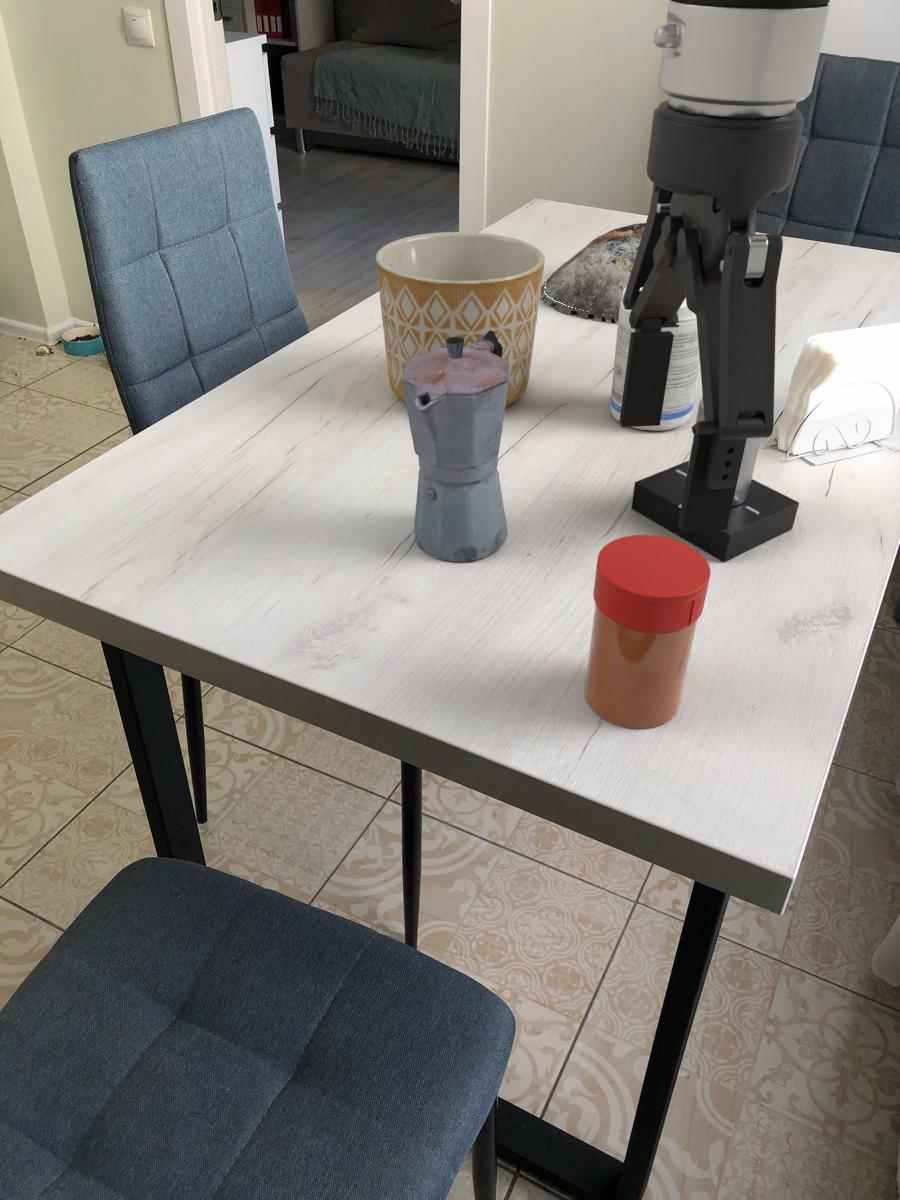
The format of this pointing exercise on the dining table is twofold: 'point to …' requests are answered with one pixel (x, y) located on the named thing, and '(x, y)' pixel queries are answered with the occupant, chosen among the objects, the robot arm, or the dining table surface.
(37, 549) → the dining table surface
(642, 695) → the jar
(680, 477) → the panel
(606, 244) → the bread
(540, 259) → the planter
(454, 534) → the moka pot
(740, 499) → the dial
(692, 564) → the lid
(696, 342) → the supplement tub
